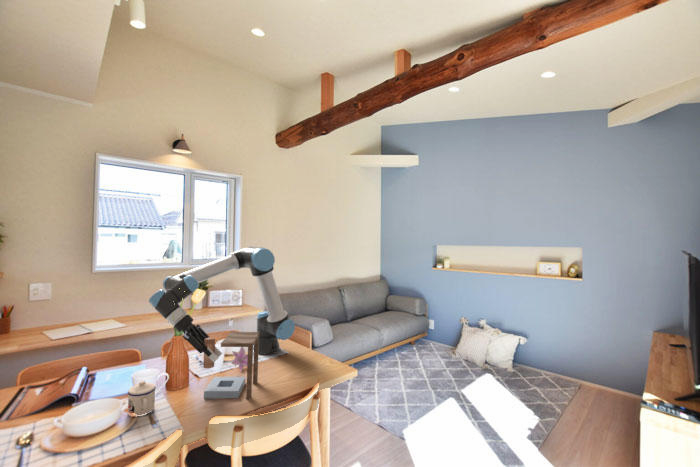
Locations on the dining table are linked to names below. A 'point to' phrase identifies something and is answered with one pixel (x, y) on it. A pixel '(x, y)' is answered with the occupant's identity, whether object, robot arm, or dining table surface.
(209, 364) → the peg
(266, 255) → the robot arm
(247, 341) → the brown frame
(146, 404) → the teacup with lid
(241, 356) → the lily
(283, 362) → the dining table surface
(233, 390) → the socket
